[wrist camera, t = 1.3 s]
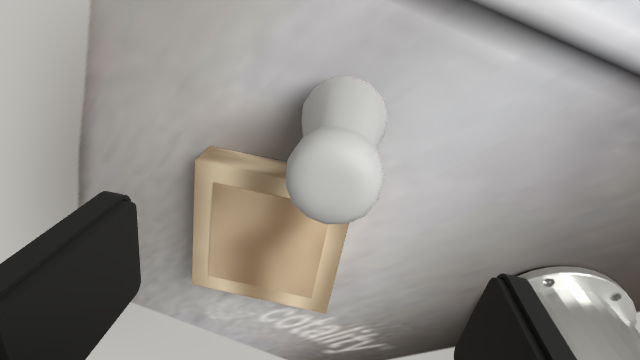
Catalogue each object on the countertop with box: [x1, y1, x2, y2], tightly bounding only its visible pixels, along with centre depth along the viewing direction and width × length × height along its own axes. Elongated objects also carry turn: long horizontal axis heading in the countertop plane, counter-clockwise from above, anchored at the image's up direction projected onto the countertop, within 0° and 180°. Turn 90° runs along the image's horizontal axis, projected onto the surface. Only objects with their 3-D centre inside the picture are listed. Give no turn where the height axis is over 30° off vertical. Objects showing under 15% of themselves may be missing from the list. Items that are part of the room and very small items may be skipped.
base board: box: [192, 146, 349, 314], centre depth 30 cm, size 12×12×3 cm
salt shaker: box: [285, 76, 388, 224], centre depth 20 cm, size 6×6×13 cm
